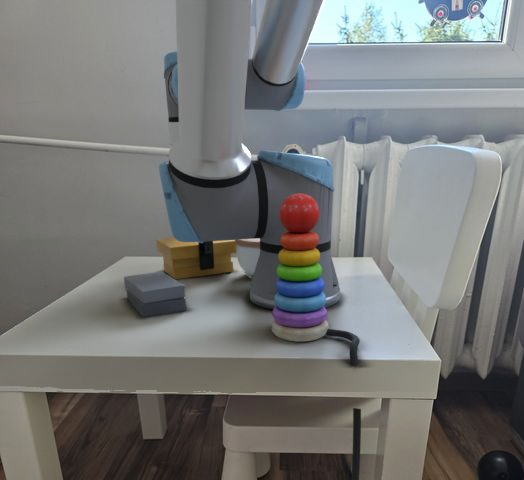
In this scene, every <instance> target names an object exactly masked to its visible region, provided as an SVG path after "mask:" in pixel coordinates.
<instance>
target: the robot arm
mask: <svg viewBox="0 0 524 480" xmlns="http://www.w3.org/2000/svg"><path fill="white" fill-rule="evenodd" d="M325 1H326V0H265V3H264V4H265V5H264V8H263V13H262V17H261V21H260V25H259V29H258V33H257V37H256V41H255V44H254V48H253V53H252V56H251V58H249V51H250V39H251V38H250V37H251V26H252V25H251V23H252V10H253V0H175V23H176V24H175V25H176V51H171V52H167V53H166V54H165V56H164V58H163V64H164V65H163V66H164V67H163V68H164V70H163V79H164V83H165V95H166V106H167V114H168V119H167V120H168V122H167V124H168V126H167V127H168V138H169V145H170V147H169V150H168V161H167V160H166V161H163V162H160V163H159V164H158V171H159V172H158V173H159V177H160V183H161V188H162V192H163V197H164V202H165V207H166V212H167V218H168V222H169V227H170V231H171V234H172V236H173V237H174V238H175V239H177V240H178V241H180V242H198V244H199V260H200V270H207V269H214V254H213V241H223V240H239V239H255V238H260V255H259V258H258V262H257V265H256V268H255V272H254V275H252V276H251V278H250V285H249V299H250V302H252V303H253V304H254V305H256V306H259V307H262V308H266V309H270V310H273V309H274V308H275V307H276V304H275V295H276V294H277V293H278V291H277V289H276V282H277V280H278V279H279V278H280V277H279V276H278V274H277V267H278V266H279V265H280V264H281V262H280V261H279V259H278V254H279V252H280V251H281V250H282V249H284V247H283V246H282V245H281V242H280V239H281V236H282V235H283V234H284V233H286V232H290V231H288V230H287V229H286V228H285V227H284V226H283V224H282V222H281V219H280V208H281V205H282V203H283V202H284V201H285V200H286V198H288V197H289V196H291V195H293V194H299V193H301V194H306V195H309V196H311V197H312V198H313V199H314V200H315V201H316V203H317V205H318V208H319V219H318V222H317V224H316V225H315V227H314V228H313V229H312V230H310V231H312V232H315V233H316V234H317V235H318V237H319V243H318V245H317V246H316V247H315V248H316V249H317V250H318V251H319V252H320V259H319V261H318V262H317V263H319V264H320V265H321V268H322V273H321V276H320V277H321V278H322V279H323V281H324V289H323V291H322V292H323V293H324V294H325V296H326V302H325V305H324V307H325V308H329V307H331V306H333V305H335V304H337V303H338V302H339V301H340V298H341V297H340V295H341V288H340V283H339V279H338V276H337V272H336V268H335V265H334V261H333V257H332V253H331V251H332V250H331V246H332V225H333V224H332V223H333V205H334V204H333V203H334V202H333V201H334V192H335V186H334V167H333V165H332V163H331V161H330V160H329V159H327V158H326V157H321V156H315V155H308V154H302V153H301V154H299V153H292V152H281V151H274V150H265V149H262V150H259V151H258V154H257V156H256V160H252V154H251V152H250V151H249V149H248V148H247V147H246V146H245V145H244V144H243V136H244V135H243V134H244V119H245V111H247V110H249V111H254V110H255V111H275V112H280V111H282V110H294V109H297V108H299V107H300V106H301V104H302V103H303V100H304V97H305V91H306V86H307V85H306V82H307V81H306V80H307V79H306V71H305V66H304V64H303V63H302V61H303V58H304V56H305V53H306V50H307V48H308V45H309V42H310V40H311V37H312V34H313V32H314V29H315V27H316V24H317V21H318V19H319V16H320V14H321V11H322V9H323V6H324V4H325ZM324 336H328V337H329V336H330V337H337V338H341V339H342V338H343V339H346V340H348V341H350V345H349V349H348V351H349V364H350V366H354V367H357V366H359V358H358V356H359V355H358V350H359V349H358V348H359V346H360V341H361V340H360V338H359V336H358V335H356V334H354V333H353V332H350V331H347V330H342V329H335V328H334V329H332V328H328V329H327V332H326V334H325V335H324ZM361 435H362V409H361V408H356V407H353V408H352V461H351V479H350V480H360V466H361V445H362V443H361V441H362V440H361V439H362V436H361Z"/></svg>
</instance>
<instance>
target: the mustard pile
mask: <svg viewBox="0 0 524 480" xmlns="http://www.w3.org/2000/svg"><path fill="white" fill-rule="evenodd" d="M162 259H163V260H162V261H163V262H162V263H163V272H164V273H165V274H167V275H168V276H170V277H172V278H173V279H175V280H180V279H188V278H194V277H196V278H197V277H202V276H210V275H218V274H225V273H232V272H234V262H233V261H232V253H230V254H221V255H214V269H207V270H200V260H199V257H195V258H187V259H178V260H170V259H169V258H167V257H166V256H164V255H163V254H162Z"/></svg>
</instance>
